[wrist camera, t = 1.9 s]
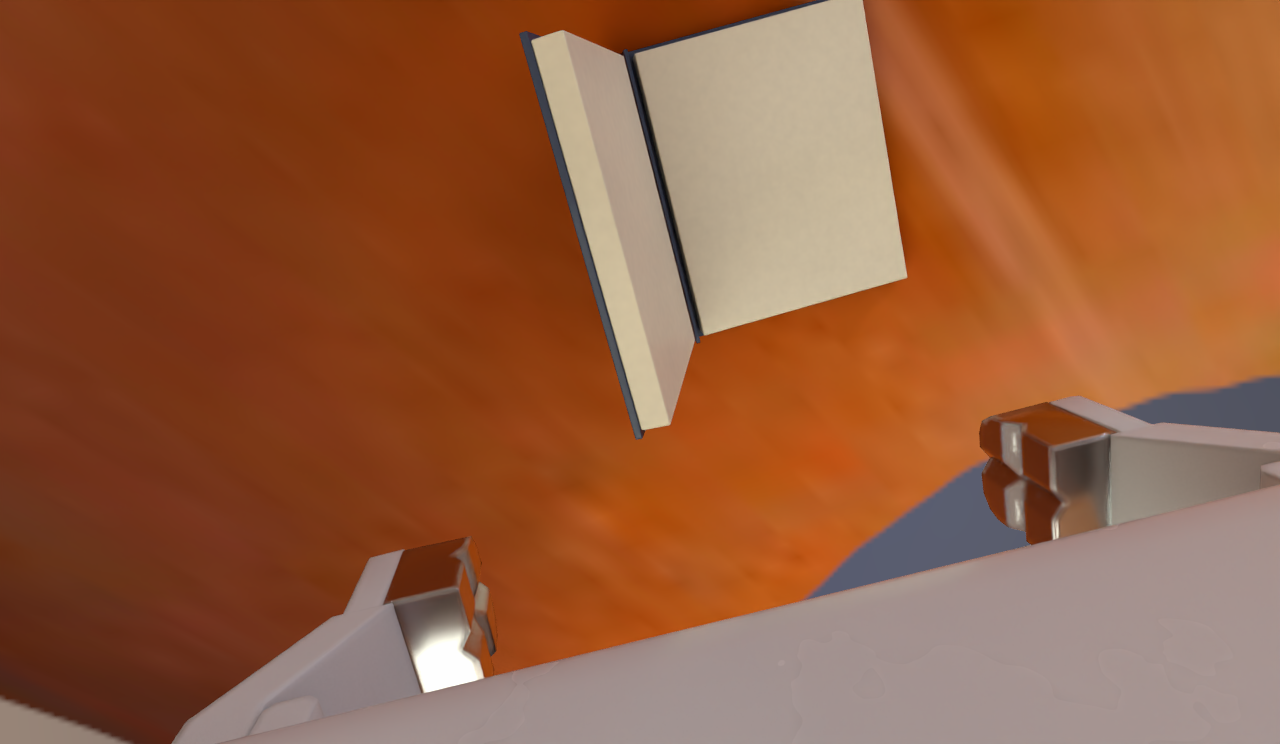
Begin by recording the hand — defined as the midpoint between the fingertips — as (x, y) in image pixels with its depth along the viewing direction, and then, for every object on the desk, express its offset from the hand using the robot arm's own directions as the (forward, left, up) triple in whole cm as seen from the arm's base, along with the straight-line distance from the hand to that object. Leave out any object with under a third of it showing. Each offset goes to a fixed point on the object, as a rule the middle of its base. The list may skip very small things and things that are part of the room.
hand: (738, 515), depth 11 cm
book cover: (-2, -3, -24) cm, 24 cm away
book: (-10, -3, -32) cm, 33 cm away
